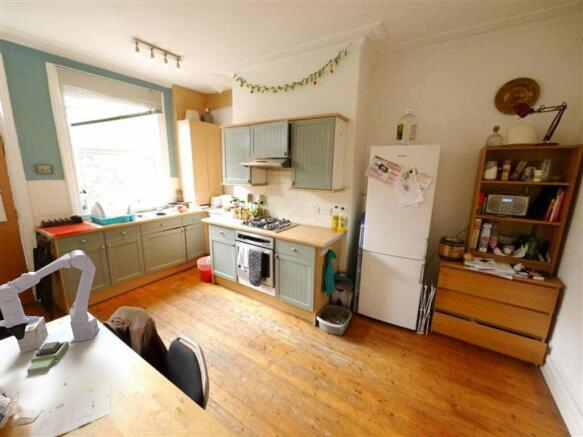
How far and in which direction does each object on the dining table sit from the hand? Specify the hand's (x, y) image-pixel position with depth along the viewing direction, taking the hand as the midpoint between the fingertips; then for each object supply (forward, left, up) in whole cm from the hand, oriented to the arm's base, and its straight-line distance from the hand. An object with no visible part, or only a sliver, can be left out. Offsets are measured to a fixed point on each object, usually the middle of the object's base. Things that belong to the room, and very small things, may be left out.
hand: (21, 338), depth 108 cm
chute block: (-9, +1, -11) cm, 14 cm away
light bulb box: (+3, -10, -11) cm, 15 cm away
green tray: (-10, +4, -10) cm, 15 cm away
